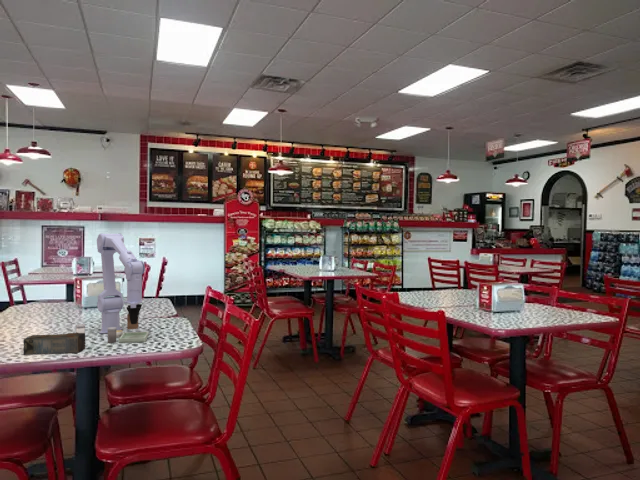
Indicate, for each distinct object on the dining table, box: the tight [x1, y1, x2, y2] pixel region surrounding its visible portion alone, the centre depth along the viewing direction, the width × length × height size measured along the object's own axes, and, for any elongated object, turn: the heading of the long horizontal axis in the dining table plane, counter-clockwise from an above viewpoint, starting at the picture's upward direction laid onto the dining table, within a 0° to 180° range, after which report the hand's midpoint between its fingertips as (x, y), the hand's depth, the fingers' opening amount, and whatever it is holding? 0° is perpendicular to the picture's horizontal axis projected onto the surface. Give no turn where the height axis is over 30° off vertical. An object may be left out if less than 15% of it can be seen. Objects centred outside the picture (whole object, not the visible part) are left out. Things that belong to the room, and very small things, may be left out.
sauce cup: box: [116, 329, 124, 339], centre depth 200 cm, size 4×4×3 cm
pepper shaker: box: [107, 327, 117, 344], centre depth 189 cm, size 3×3×6 cm
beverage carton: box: [22, 331, 86, 356], centre depth 174 cm, size 8×19×7 cm, turn 101°
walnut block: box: [126, 313, 139, 330], centre depth 195 cm, size 4×4×6 cm
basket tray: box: [118, 331, 150, 344], centre depth 195 cm, size 12×10×2 cm
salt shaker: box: [75, 323, 86, 334], centre depth 194 cm, size 3×3×6 cm
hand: (134, 322), depth 195 cm, fingers closed on walnut block, 4 cm apart
